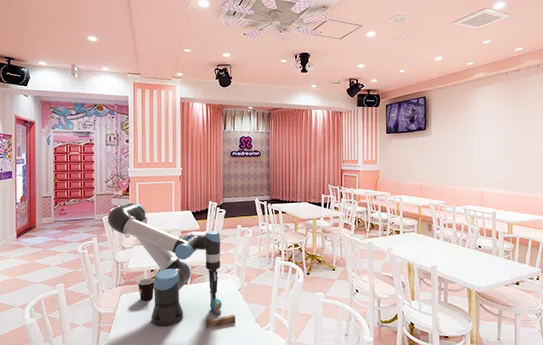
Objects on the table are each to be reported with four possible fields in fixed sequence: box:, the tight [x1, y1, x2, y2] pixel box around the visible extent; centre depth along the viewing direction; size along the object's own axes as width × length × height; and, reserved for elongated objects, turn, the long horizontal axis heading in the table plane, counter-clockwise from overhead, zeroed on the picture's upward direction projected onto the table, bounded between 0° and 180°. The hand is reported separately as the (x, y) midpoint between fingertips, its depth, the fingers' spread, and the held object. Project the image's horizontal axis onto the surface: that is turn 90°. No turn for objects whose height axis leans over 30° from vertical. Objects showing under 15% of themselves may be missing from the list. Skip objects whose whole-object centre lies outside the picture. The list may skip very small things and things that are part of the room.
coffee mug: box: [137, 278, 154, 302], centre depth 181 cm, size 12×9×10 cm
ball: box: [209, 298, 222, 312], centre depth 169 cm, size 6×6×6 cm
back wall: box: [205, 314, 236, 329], centre depth 155 cm, size 14×2×3 cm, turn 111°
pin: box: [213, 302, 221, 316], centre depth 163 cm, size 2×2×8 cm
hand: (213, 303), depth 172 cm, fingers closed
